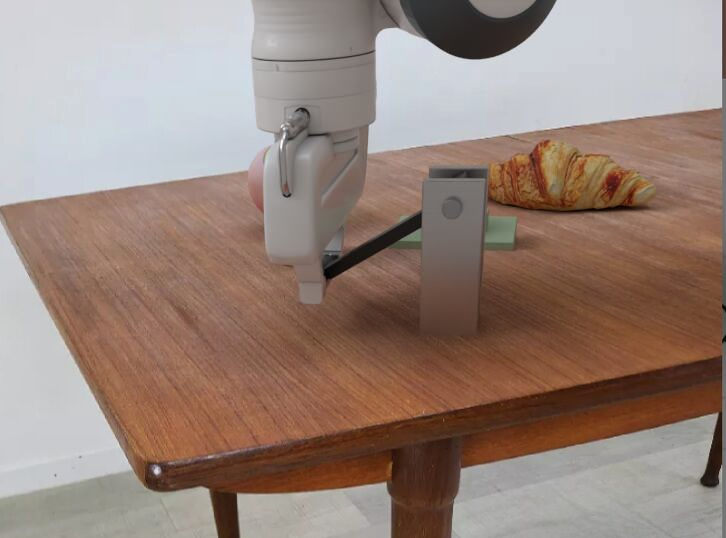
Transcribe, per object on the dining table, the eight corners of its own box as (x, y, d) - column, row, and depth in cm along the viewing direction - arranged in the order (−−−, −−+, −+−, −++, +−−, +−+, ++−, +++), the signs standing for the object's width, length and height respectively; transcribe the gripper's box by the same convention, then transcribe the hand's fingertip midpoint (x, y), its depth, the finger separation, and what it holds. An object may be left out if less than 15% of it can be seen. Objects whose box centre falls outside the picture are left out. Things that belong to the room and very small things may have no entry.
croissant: (651, 232, 108) (666, 160, 107) (648, 210, 99) (665, 131, 97) (470, 217, 115) (483, 149, 114) (452, 196, 106) (466, 121, 105)
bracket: (380, 357, 74) (380, 186, 67) (395, 320, 80) (396, 161, 73) (510, 362, 72) (524, 186, 65) (515, 324, 78) (528, 160, 71)
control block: (515, 238, 98) (519, 198, 96) (511, 265, 91) (515, 222, 88) (400, 236, 100) (401, 197, 98) (388, 263, 93) (388, 221, 91)
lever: (313, 305, 74) (297, 279, 73) (328, 282, 79) (312, 257, 78) (477, 213, 67) (461, 183, 67) (482, 194, 72) (468, 165, 71)
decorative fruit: (270, 215, 110) (264, 122, 104) (336, 218, 107) (333, 123, 102) (237, 238, 103) (229, 140, 97) (307, 242, 100) (303, 141, 95)
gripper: (328, 125, 59) (335, 336, 67) (380, 75, 75) (380, 249, 83) (232, 126, 61) (250, 333, 68) (303, 77, 77) (311, 248, 85)
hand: (322, 286), depth 76 cm, fingers closed on lever, 5 cm apart
